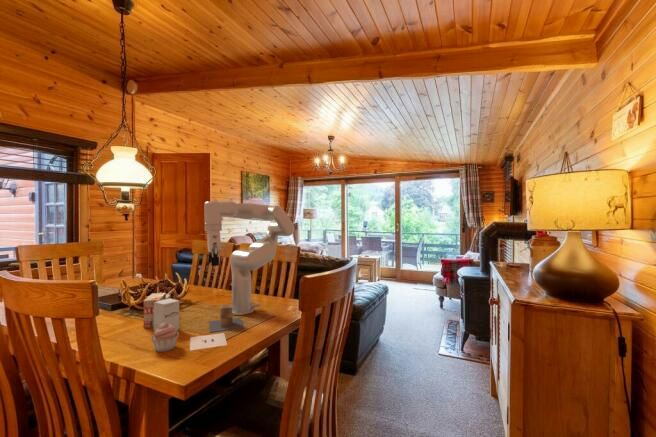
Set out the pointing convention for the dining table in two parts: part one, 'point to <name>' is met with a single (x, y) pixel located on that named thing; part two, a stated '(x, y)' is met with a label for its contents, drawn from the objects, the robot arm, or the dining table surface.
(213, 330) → the mat
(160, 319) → the supplement box
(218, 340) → the tile
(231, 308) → the walnut block
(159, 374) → the dining table surface
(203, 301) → the dining table surface
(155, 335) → the cupcake
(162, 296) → the white printed carton
